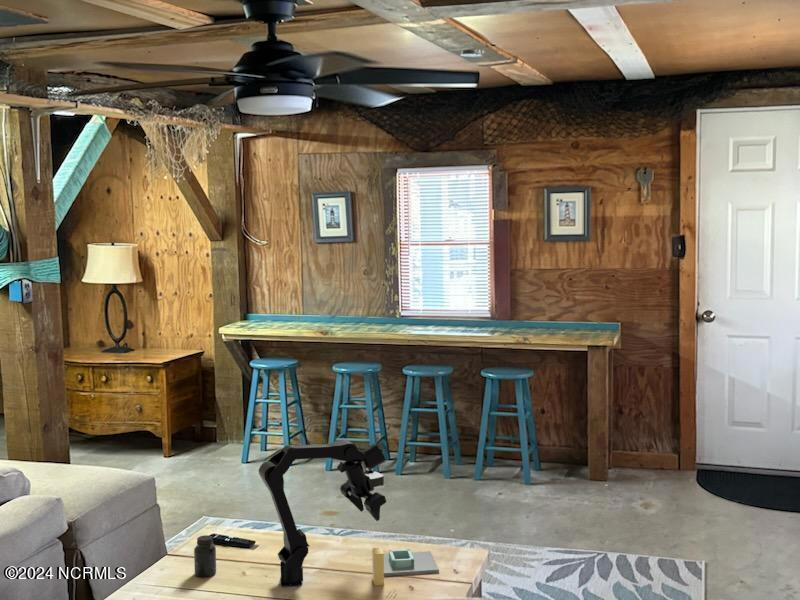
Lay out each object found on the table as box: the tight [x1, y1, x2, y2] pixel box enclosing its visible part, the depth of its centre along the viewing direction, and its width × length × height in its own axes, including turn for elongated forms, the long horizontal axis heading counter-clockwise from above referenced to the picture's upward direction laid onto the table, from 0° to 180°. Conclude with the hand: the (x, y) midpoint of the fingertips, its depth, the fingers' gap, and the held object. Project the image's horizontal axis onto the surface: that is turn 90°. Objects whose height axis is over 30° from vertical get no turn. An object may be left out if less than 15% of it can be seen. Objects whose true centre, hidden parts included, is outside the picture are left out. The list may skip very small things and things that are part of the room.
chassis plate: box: [384, 548, 440, 577], centre depth 293 cm, size 18×16×4 cm
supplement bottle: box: [193, 534, 217, 579], centre depth 286 cm, size 7×7×12 cm
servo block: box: [371, 547, 385, 586], centre depth 279 cm, size 3×5×10 cm, turn 8°
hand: (370, 515), depth 292 cm, fingers open, 9 cm apart
